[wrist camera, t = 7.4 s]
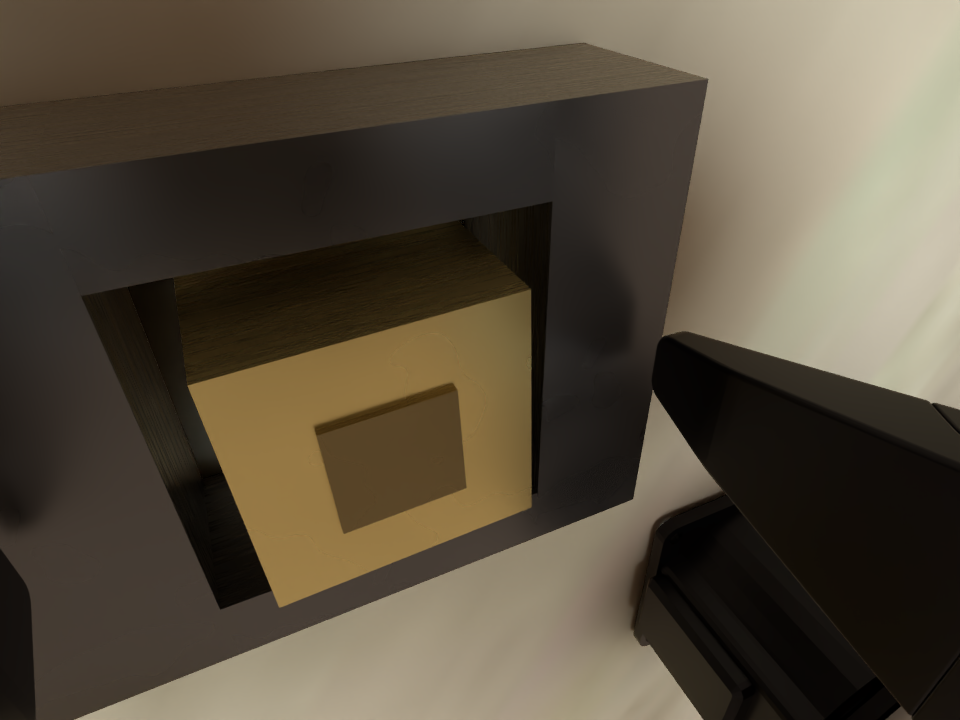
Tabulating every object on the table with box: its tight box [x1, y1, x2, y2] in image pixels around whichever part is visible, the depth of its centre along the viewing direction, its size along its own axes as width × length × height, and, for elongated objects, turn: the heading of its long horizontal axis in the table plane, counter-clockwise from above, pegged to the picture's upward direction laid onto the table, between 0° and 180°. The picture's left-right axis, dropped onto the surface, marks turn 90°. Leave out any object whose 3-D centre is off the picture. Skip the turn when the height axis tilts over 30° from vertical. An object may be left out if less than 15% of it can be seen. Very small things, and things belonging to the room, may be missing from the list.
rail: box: [0, 43, 708, 720], centre depth 9 cm, size 18×8×3 cm, turn 91°
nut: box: [174, 221, 532, 608], centre depth 10 cm, size 4×4×4 cm
